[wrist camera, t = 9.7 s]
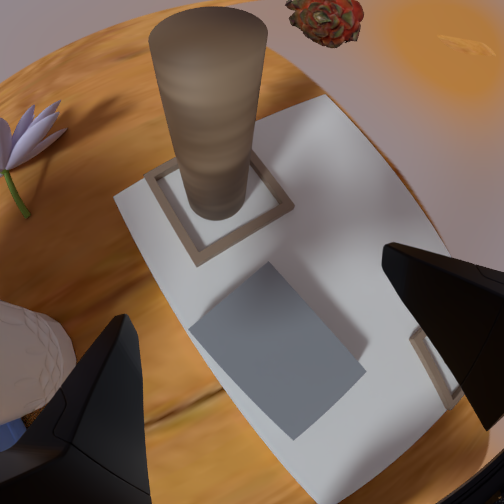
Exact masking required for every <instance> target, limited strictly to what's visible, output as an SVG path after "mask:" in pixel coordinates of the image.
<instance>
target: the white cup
mask: <svg viewBox="0 0 504 504" xmlns="http://www.w3.org/2000/svg"><path fill="white" fill-rule="evenodd" d="M75 366H76V356H75V353H74V349H73V345H72V341H71V339H70V337H69V336H68V335H67V333H66V332H65V330H64V329H63V327H62V326H61V324H60V323H59V322H57V321H55V320H54V319H52V318H51V317H49V316H48V315H46V314H42V313H38V312H34V311H31V310H28V309H26V308H23V307H21V306H17V305H13V304H11V303H8V302H5V301H2V300H0V425H3V424H5V423H8V422H10V421H13V420H16V419H18V418H21V417H23V416H24V415H26V414H28V413H31V412H33V411H35V410H37V409H39V408H42V407H44V406H45V405H46V404H47V403H49V401H50V400H51V399H52V397H53V396H54V394H55V393H56V392H57V390H58V389H59V388H60V387H61V385H62V383H63V382H64V381H65V379H66V378H67V377H68V375H69V374H70V373H71V371H72V370H73V369H74V367H75Z"/></svg>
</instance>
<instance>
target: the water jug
mask: <svg viewBox="0 0 504 504" xmlns="http://www.w3.org/2000/svg"><path fill="white" fill-rule="evenodd" d="M26 430H27V429H26V427H25V425H24V423H23V421H22V419H21V418H18V419H16V420H13V421H10V422H8V423H5V424H3V425H0V452H2V451H5V450H7V449H9V448H10V447H12V446H13V445H14V444H15V443H16V442H17V441H18V440H19V439H20V437H21V436H22V435H23V434H24V432H25V431H26Z"/></svg>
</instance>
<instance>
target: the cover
mask: <svg viewBox="0 0 504 504" xmlns="http://www.w3.org/2000/svg"><path fill="white" fill-rule="evenodd" d="M188 330H189V331H190V332H191V334H192V335H193V336H194V337H195V338H196V340H197V341H198V342H199V343H200V344H201V345H202V347H203V348H204V349H205V350H206V351H207V352H208V353H209V355H210V356H211V357H212V358H213V359H214V360H215V361H216V362H217V364H218V365H219V366H220V367H221V368H222V369H223V370H224V371H225V372H226V374H227V375H228V376H229V377H230V378H231V379H232V380H233V381H234V382H235V383H236V384H237V385H238V386H239V387H240V389H241V390H242V391H243V392H244V393H245V394H246V395H247V396H248V397H249V398H250V399H251V400H252V401H253V402H254V403H255V404H256V405H257V406H258V407H259V408H260V409H261V410H262V411H263V412H264V413H265V414H266V415H267V416H268V417H269V418H270V419H271V420H272V421H273V422H274V423H275V424H276V425H277V426H278V427H279V428H280V429H281V430H283V431H284V432H285V433H286V434H287V435H288V436H289V437H290V438H291V439H292V440H293V441H294V440H295V439H296V438H297V437H299V436H300V435H301V434H302V433H303V432H304V431H306V430H307V429H308V428H309V427H310V426H311V425H312V424H314V423H315V422H316V421H317V420H318V419H319V418H320V417H321V416H323V415H324V414H325V413H326V412H327V411H328V410H329V409H330V408H331V407H332V406H333V405H334V404H335V403H336V402H337V401H338V400H339V399H340V398H342V397H343V396H344V395H345V394H346V393H347V392H348V391H349V390H350V389H351V388H352V386H353V385H354V384H355V383H356V382H357V381H358V380H359V379H360V378H361V377H362V376H363V375H364V374H365V373H366V372H367V371H366V370H365V369H364V368H363V366H362V365H361V364H360V363H359V362H358V361H357V360H356V359H355V357H354V356H353V355H352V354H351V353H350V352H349V351H348V349H347V348H346V347H345V346H344V345H343V344H342V343H341V342H340V340H339V339H338V338H337V337H336V336H335V335H334V334H333V333H332V331H331V330H330V329H329V328H328V327H327V326H326V325H325V324H324V322H323V321H322V320H321V319H320V318H319V317H318V316H317V315H316V313H315V312H314V311H313V310H312V309H311V308H310V307H309V306H308V304H307V303H306V302H305V301H304V300H303V299H302V298H301V297H300V295H299V294H298V293H297V292H296V291H295V290H294V289H293V288H292V287H291V285H290V284H289V283H288V282H287V281H286V280H285V279H284V278H283V276H282V275H281V274H280V273H279V272H278V271H277V270H276V269H275V268H274V266H273V265H272V264H271V263H270V262H269V261H268V262H267V263H266V264H265V265H263V266H262V267H261V268H260V269H259V270H258V271H256V272H255V273H254V274H253V275H252V276H251V277H249V278H248V279H247V280H246V281H245V282H244V283H242V284H241V285H240V286H239V287H238V288H236V289H235V290H234V291H233V292H232V293H231V294H229V295H228V296H227V297H226V298H225V299H223V300H222V301H221V302H220V303H219V304H217V305H216V306H215V307H214V308H213V309H212V310H210V311H209V312H208V313H207V314H206V315H204V316H203V317H202V318H201V319H200V320H198V321H197V322H196V323H195V324H194V325H192V326H191V327H190V328H189V329H188Z"/></svg>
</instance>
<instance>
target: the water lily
mask: <svg viewBox="0 0 504 504" xmlns="http://www.w3.org/2000/svg"><path fill="white" fill-rule="evenodd" d="M60 102H61V100H59V101H57V102H55V103H53V104H52V105H50V106H49V107H47V108H46V109H45V110H44V111H42V112H41V113H40V114H39V115H38V116H37V117H36V118H35V119H34V116H33V114H34V108H35V105H33V106H31V107H30V108H29V109H28V110H27V111H26V112H25V114H24V115H23V116H22V118H21V119H20V121H19V123H18V125H17V127H16V129H15V131H14V134H13V136H11V130H10V127H9V125H8V123H7V122H6V121H5V120H4V119H3V118H0V178H1V177H2V176H5V179H6V182H7V185H8V187H9V190H10V192H11V194H12V196H13V198H14V200H15V202H16V204H17V206H18V208H19V209H20V211H21V213H22V214H23V216H24V218H27V217H29V216H30V215H31V214H30V213H29V211H28V210H27V208H26V206H25V205H24V203H23V201H22V200H21V198H20V196H19V194H18V192H17V190H16V188H15V186H14V183H13V181H12V178H11V176H10V173H9V171H10V169H13V168H15V167H17V166H19V165H21V164H23V163H24V162H26V161H28V160H30V159H31V158H33V157H34V156H36V155H37V154H39V153H40V152H42V151H43V150H44V149H46V148H47V147H48V146H50V145H51V144H52V143H53V142H54V141H56V140H57V139H58V138H59V137H60V136H61V135H62V134H63V133H64V132H65V131H66V130H67V129H68V128H65V129H62V130H59V131H57V132H55V133H53V134H52V135H50V136H49V137H47V138H46V139H45V140H43V141H41V140H42V139H43V138H44V137H45V135H46V134H47V133H48V131H49V130H50V129H51V127H52V126H53V124H54V122H55V121H56V119H57V117H58V116H59V113H60V112H56V113H55V111H56V109H57V107H58V106H59V104H60ZM33 119H34V121H33ZM40 141H41V142H40Z"/></svg>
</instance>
